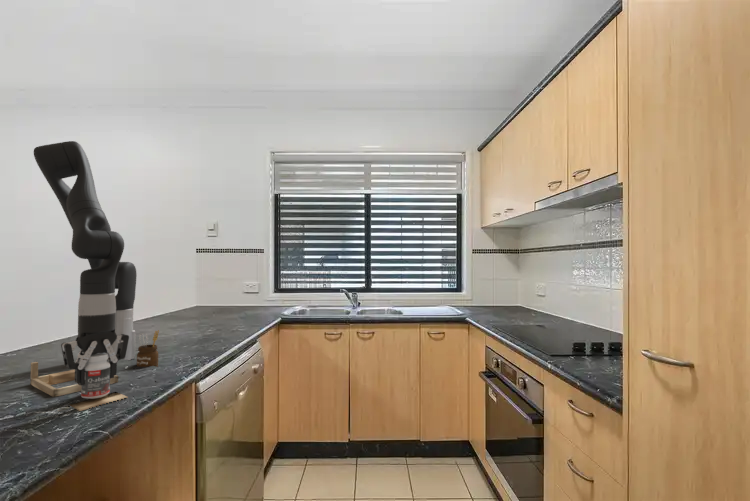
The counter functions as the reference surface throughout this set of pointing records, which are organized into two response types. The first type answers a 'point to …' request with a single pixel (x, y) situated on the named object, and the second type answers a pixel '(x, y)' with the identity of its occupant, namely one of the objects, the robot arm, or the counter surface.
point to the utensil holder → (148, 353)
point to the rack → (52, 391)
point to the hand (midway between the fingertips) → (96, 380)
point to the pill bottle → (96, 377)
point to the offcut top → (62, 376)
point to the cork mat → (97, 401)
